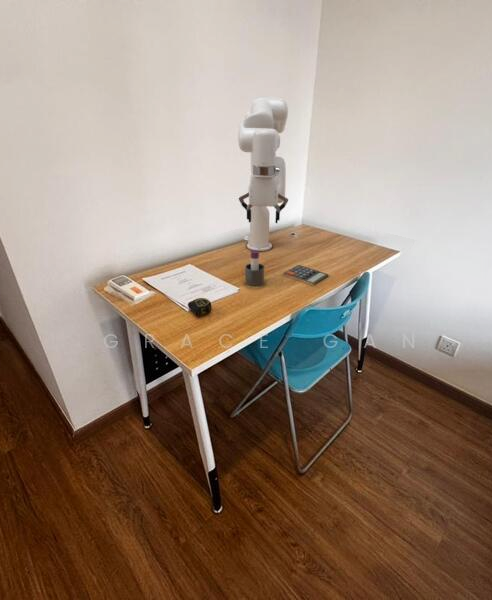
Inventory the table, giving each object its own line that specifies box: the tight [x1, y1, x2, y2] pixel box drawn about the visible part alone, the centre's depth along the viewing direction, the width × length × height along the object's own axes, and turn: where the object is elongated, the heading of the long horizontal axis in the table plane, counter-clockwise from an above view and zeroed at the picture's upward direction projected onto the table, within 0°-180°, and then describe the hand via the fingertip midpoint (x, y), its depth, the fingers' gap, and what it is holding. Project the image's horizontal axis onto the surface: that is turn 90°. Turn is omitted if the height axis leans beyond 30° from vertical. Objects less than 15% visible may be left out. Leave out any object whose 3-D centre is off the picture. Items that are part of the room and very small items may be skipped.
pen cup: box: [244, 262, 265, 288], centre depth 125 cm, size 7×7×8 cm
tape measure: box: [187, 297, 212, 317], centre depth 107 cm, size 7×7×4 cm
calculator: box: [283, 264, 329, 286], centre depth 135 cm, size 12×1×15 cm
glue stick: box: [250, 250, 260, 270], centre depth 123 cm, size 3×3×13 cm
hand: (263, 221), depth 116 cm, fingers open, 9 cm apart
